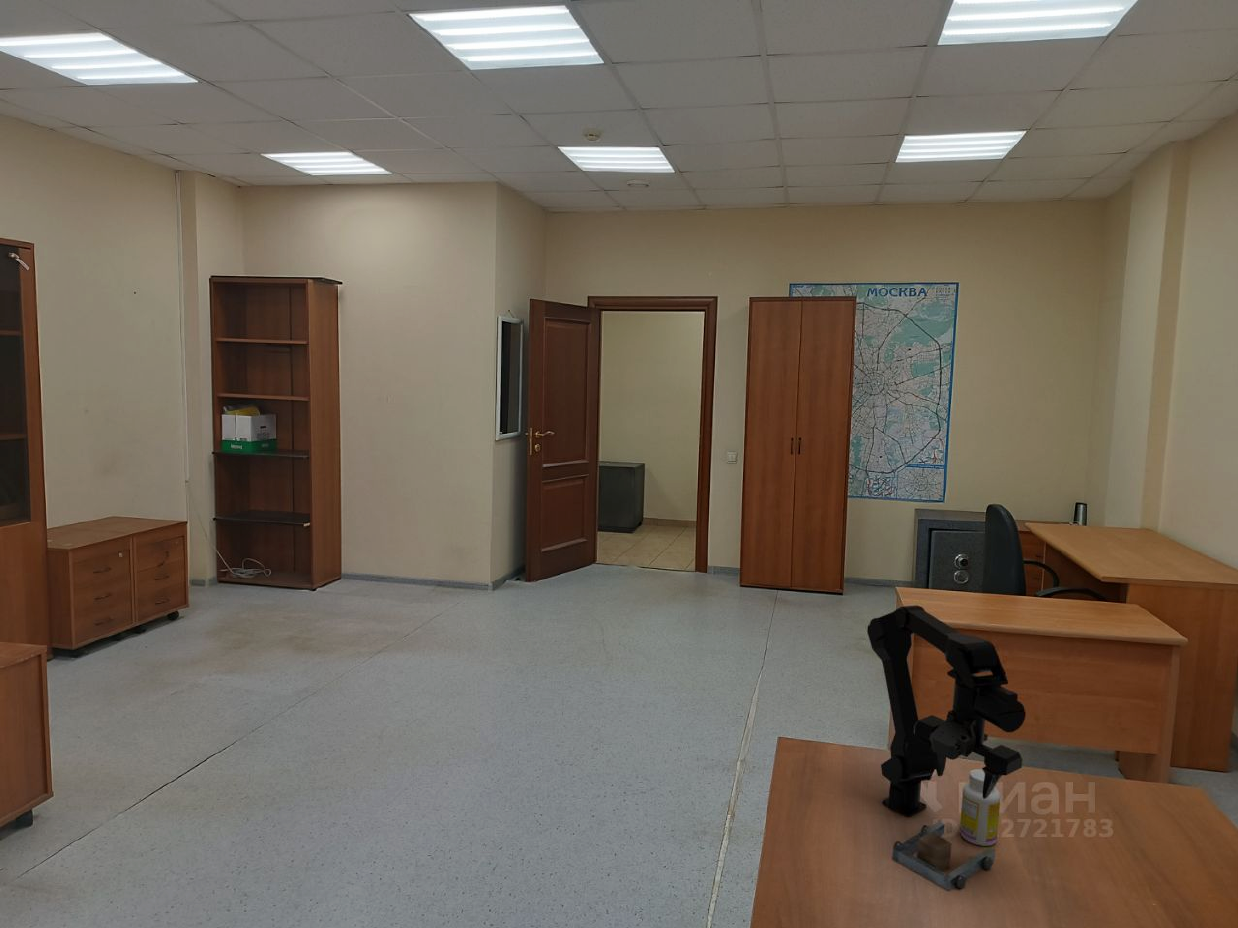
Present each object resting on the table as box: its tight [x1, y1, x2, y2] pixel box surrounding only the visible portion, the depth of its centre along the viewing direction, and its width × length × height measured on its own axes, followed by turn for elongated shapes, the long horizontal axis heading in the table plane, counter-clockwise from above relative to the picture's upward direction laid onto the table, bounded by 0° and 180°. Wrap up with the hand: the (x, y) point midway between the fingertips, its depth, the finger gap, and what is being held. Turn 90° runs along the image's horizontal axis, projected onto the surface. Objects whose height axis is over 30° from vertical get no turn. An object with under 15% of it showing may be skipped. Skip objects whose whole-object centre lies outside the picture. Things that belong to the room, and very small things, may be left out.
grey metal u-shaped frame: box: [891, 821, 996, 892], centre depth 154 cm, size 15×13×2 cm
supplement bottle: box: [959, 768, 1001, 847], centre depth 160 cm, size 7×7×13 cm
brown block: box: [916, 832, 952, 872], centre depth 151 cm, size 4×4×5 cm
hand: (962, 786), depth 155 cm, fingers open, 9 cm apart
